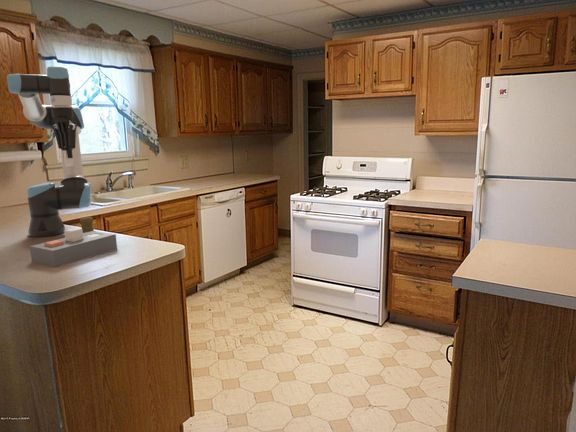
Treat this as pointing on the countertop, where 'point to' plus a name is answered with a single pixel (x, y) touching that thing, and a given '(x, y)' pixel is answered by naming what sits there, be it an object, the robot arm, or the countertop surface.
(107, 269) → the countertop surface
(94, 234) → the cream square button
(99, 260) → the countertop surface
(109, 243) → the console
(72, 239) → the cream white cube
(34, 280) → the countertop surface
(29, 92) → the robot arm
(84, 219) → the cork
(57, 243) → the terracotta button
